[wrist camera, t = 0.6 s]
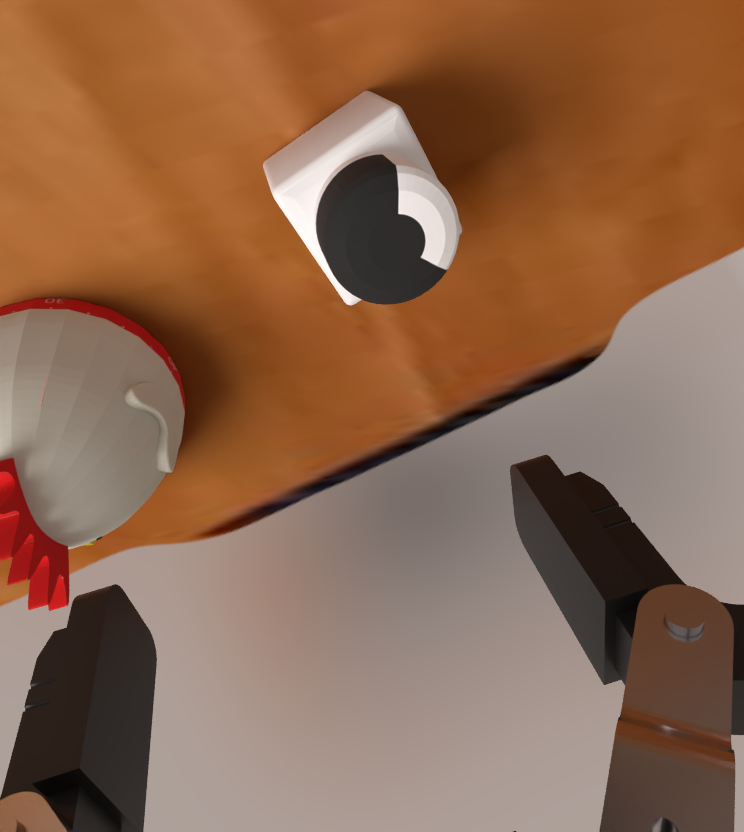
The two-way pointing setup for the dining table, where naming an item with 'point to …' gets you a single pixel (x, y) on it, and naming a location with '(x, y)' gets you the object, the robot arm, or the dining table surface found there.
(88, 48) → the dining table surface
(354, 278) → the medicine bottle
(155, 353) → the kitchen timer
